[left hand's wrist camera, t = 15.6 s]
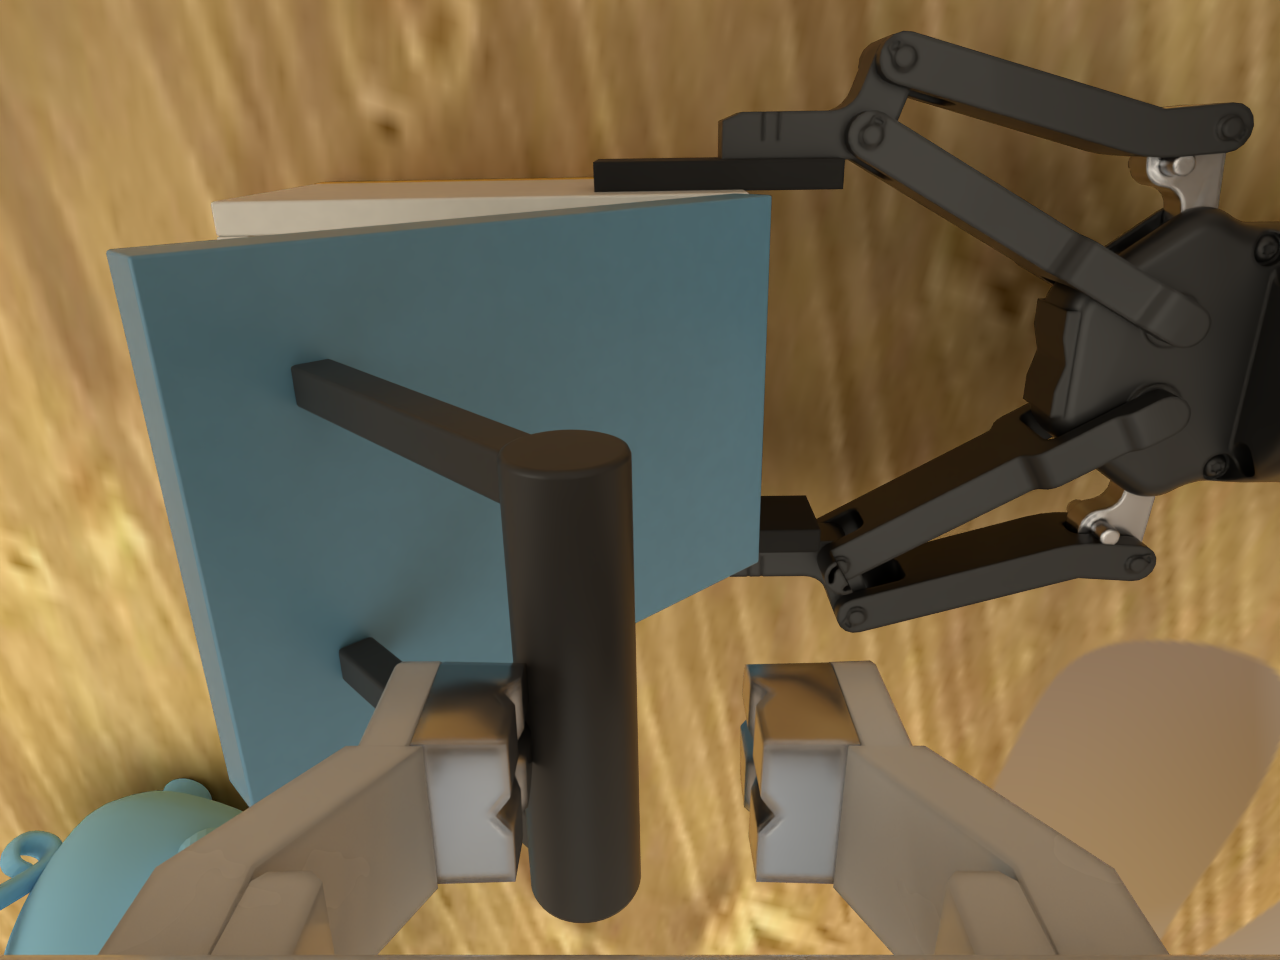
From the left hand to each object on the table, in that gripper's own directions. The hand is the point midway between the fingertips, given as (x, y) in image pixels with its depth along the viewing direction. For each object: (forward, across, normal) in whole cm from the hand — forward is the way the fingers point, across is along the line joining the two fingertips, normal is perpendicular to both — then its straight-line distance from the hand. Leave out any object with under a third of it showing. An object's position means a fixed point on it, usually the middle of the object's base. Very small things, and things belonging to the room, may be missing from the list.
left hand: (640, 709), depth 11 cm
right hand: (+17, -1, 0) cm, 17 cm away
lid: (+9, -3, 0) cm, 10 cm away
